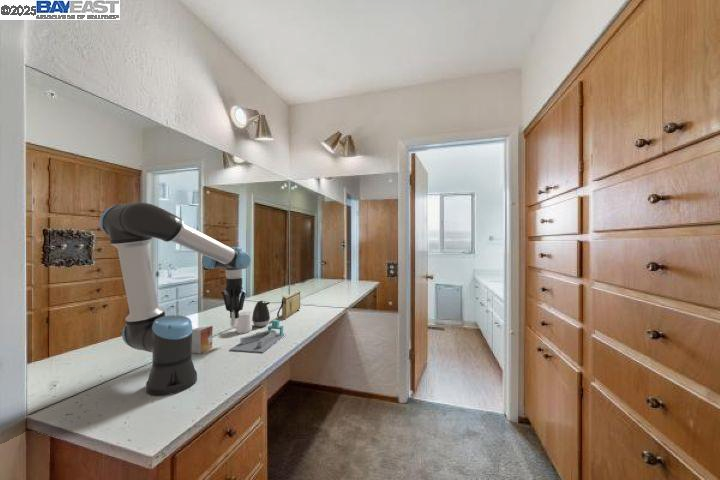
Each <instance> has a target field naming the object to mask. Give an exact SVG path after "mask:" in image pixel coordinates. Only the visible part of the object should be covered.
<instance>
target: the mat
mask: <svg viewBox="0 0 720 480" xmlns="http://www.w3.org/2000/svg"><path fill="white" fill-rule="evenodd" d="M257 333H260V332H256V333H255V334H257ZM284 334H285V333H283V334H282V335H280V332H276V338H274V339H273V340H271V341H270V342H269V343H267V344H266V345H265V346H263V347H262V348H257V341H259V340H257V341H254V342H250V343H247V344H243V345H242V344H240V342H239V343H238V344H236V345H234V346H233V347H231V348H229V350H228V351H229V352H238V353H239V352H240V353H254V352H258V353H257V354H259V353H260V354H264V353H265V352H266V351H268V350H269V349H270V348H272V347H273V346H274V345H276V344H277V343H278V342H279V341H280V339H281V338H282V337H283V336H284ZM284 337H285V336H284ZM284 337H283V338H284ZM283 338H282V339H283ZM282 339H281V340H282ZM278 340H279V341H278ZM277 341H278V342H277ZM276 342H277V343H276ZM273 344H274V345H273ZM272 345H273V346H272ZM271 346H272V347H271ZM268 348H269V349H268ZM267 349H268V350H267ZM263 352H264V353H263Z"/></svg>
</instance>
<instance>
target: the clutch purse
mask: <svg viewBox="0 0 720 480" xmlns="http://www.w3.org/2000/svg"><path fill="white" fill-rule="evenodd" d="M299 309H301V291H300V290H297V291H295V292H293V293H290V294H287V295H285V296H282V299H281V304H280V307H279V308H278V311H277V314H276V315H277V318H280V315H279V314H280V311H281V317H282V320H285V318H286V319H287V318H289V317H291V316H292V315H294V314H295V313H296V311H297V310H299ZM299 311H300V310H299ZM294 312H295V313H294ZM297 312H298V311H297ZM293 313H294V314H293ZM291 314H292V315H291ZM288 316H289V317H288Z"/></svg>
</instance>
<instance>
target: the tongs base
mask: <svg viewBox="0 0 720 480" xmlns="http://www.w3.org/2000/svg"><path fill="white" fill-rule="evenodd" d="M276 333H277V331H276V329H271V333H269V334H268V335H266V336H265V337H263V338H262V339H260V340H259V341H257V348H262V347H263V346H265V345H266V344H267V343H269V342H270V341H271V340H273V339H274V338H276Z"/></svg>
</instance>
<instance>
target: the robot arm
mask: <svg viewBox="0 0 720 480" xmlns="http://www.w3.org/2000/svg"><path fill="white" fill-rule="evenodd" d="M99 227H100V228H101V230H102V232H103V233H105V234H106V235H108V237H109V242H110V245H111V246H113V247H114V248H116V250H117V254H118V258H119V264H120V269H121V273H122V279H123V284H124V289H125V294H126V295H125V296H126V299H127V304H128V310H129V314H128V315H127V316H126V317H125V326H124V327H123V329H122V334H121V335H122V340H123V341H124V343H125V344H126V345H127V346H129V347H131V348H132V349H135V350H139V351H145V352H148V353H152V358H151V359H152V361H151V362H152V367H151V370H150V372H149V375H148V379H147V381H146V384H145V394H147V395H149V396H153V397H158V396H159V397H160V396H161V397H162V396H168V395H172V394H173V395H174V394H177V393H179V392H183V391H185V390H187V389H188V388H191V387H192V386H193V385H195V384H196V382H197V381H198V372H197V370H196V369H195V365H194V362H193V358H192V354H193V353H192V329H193V325H192V324H193V323H192V319H190V318H189V317H187V316H185V315H179V314H177V315H174V314H173V315H172V314H171V315H166V312H165V309H164V308H163V307H160V306H159V301H158V296H157V289H156V284H155V279H154V278H155V277H154V273H153V268H152V266H153V265H152V262H151V256H150V249H149V244H150V243H151V242H152V240H153V238H154V239H158V240H162V241H164V242H166V243H169V242H173V243H175V244H177V245H180V246H182V247H185V248H187V249H189V250H191V251H193V252H195V253H198V254H200V255H202V258H201V263H202V266H203V267H204V268H205V269H225V277H226V279H225V286H226V287H225V289H224V290H223V291H221V292H220V293H221V295H222V297H223V302H224V307H225V310H226V311H227V312H228V311H229V318H230V319H231V318H232V325H233V326H236V324H237V318H239V312H240V311H242V310H244V309H243V308H244V305H245V300H246V296H247V294H248V291H247V290H246V291H245V290H244V289H243V278H242V277H243V269H244V270H245V269H247V268H248V267H249V266H250V264H251V261H252V258H251V255H250V254H249V253H248V252H245V251H242V250H243V249H242V248H241V246H228V245H226V244H224V243H222V242H220V241H218V240H217V239H215V238H213V237H211V236H209V235H207V234H205V233H203V232H201V231H199V230H197V229H195V228H194V227H192V226H190V225H188V224H186V223H184V220H183V219H182V218H181V217H179V216H177V215H175V214H174V213H171V212H169V211H167V210H165V209H163V208H162V207H159V206H157V205H154V204H152V203H148V202H139V201H138V202H133V203H118V204H116V205H111V206H110V207H107V209H105V210H104V211H103V212H102V214H101V215H100V218H99Z"/></svg>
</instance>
